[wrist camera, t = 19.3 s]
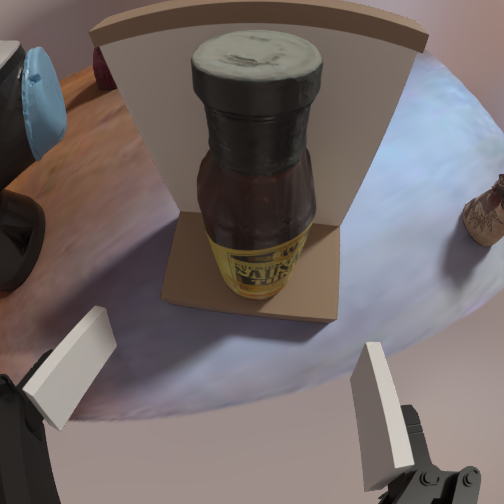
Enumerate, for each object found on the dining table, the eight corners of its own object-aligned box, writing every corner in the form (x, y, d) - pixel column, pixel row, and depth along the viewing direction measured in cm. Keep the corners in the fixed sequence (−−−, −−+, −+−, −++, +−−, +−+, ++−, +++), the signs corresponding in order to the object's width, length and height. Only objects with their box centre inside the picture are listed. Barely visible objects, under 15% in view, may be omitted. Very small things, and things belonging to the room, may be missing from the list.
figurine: (480, 198, 30) (523, 153, 19) (500, 240, 28) (550, 201, 16) (455, 208, 30) (503, 156, 18) (477, 254, 27) (535, 213, 16)
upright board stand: (167, 303, 27) (-21, 164, 5) (188, 208, 31) (106, 17, 9) (332, 323, 26) (525, 196, 4) (335, 222, 29) (415, 20, 8)
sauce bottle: (245, 316, 23) (173, 162, 5) (210, 258, 25) (116, 61, 7) (308, 277, 24) (398, 79, 6) (271, 224, 26) (275, 11, 8)
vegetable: (138, 93, 46) (118, 44, 31) (95, 99, 45) (68, 56, 30) (149, 60, 47) (136, 13, 32) (109, 66, 46) (89, 23, 31)
